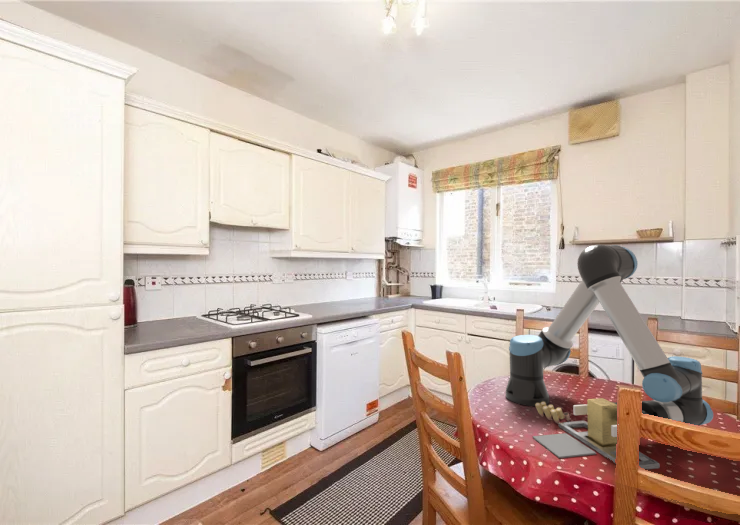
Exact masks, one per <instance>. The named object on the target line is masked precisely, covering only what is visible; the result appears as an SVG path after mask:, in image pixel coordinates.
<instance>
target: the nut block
mask: <svg viewBox="0 0 740 525" xmlns="http://www.w3.org/2000/svg"><path fill="white" fill-rule="evenodd" d="M586 400H587V401H586V403H587V411H588V414H587V423H588V429H587V431H588V439H589V440H591V441H593V442H594V443H596V444H597V445H599V446H601V447H602V448H604V447H613V446H616V444H617V437H613V436H611V425H617V404H615V403H612V401H610V400H608V399H605V398H603V397H600V398H599V397H598V398H588V399H586Z"/></svg>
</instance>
